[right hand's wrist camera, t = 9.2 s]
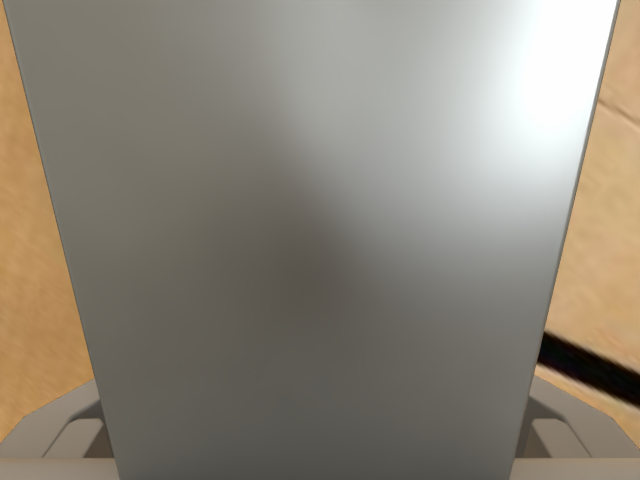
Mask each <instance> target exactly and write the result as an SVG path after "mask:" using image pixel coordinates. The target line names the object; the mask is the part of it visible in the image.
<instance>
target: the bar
mask: <svg viewBox="0 0 640 480" xmlns="http://www.w3.org/2000/svg"><path fill="white" fill-rule="evenodd" d="M2 1H3V5H4V9H5V13H6V17H7V22H8V26H9V30H10V34H11V38H12V42H13V46H14V50H15V54H16V58H17V62H18V66H19V71H20V75H21V79H22V83H23V87H24V91H25V95H26V99H27V103H28V107H29V111H30V115H31V120H32V124H33V128H34V132H35V136H36V140H37V144H38V148H39V152H40V156H41V160H42V164H43V168H44V173H45V177H46V181H47V185H48V189H49V193H50V197H51V201H52V205H53V209H54V213H55V217H56V222H57V226H58V230H59V234H60V238H61V242H62V246H63V250H64V254H65V258H66V262H67V266H68V271H69V275H70V279H71V283H72V287H73V291H74V295H75V299H76V303H77V307H78V311H79V315H80V320H81V324H82V328H83V332H84V336H85V340H86V344H87V348H88V352H89V356H90V360H91V364H92V368H93V373H94V377H95V381H96V385H97V389H98V393H99V397H100V401H101V405H102V409H103V413H104V417H105V422H106V426H107V430H108V434H109V438H110V442H111V446H112V450H113V454H114V458H115V462H116V466H117V471H118V475H119V479H120V480H509V479H510V474H511V470H512V466H513V461H514V457H515V453H516V449H517V444H518V440H519V436H520V431H521V427H522V423H523V418H524V414H525V410H526V406H527V401H528V397H529V393H530V388H531V384H532V380H533V376H534V371H535V367H536V363H537V358H538V354H539V350H540V345H541V341H542V337H543V333H544V328H545V324H546V320H547V315H548V311H549V307H550V302H551V298H552V294H553V290H554V285H555V281H556V277H557V272H558V268H559V264H560V260H561V255H562V251H563V247H564V242H565V238H566V234H567V229H568V225H569V221H570V217H571V212H572V208H573V204H574V199H575V195H576V191H577V187H578V182H579V178H580V174H581V169H582V165H583V161H584V156H585V152H586V148H587V144H588V139H589V135H590V131H591V126H592V122H593V118H594V114H595V109H596V105H597V101H598V96H599V92H600V88H601V83H602V79H603V75H604V71H605V66H606V62H607V58H608V53H609V49H610V45H611V40H612V36H613V32H614V28H615V23H616V19H617V15H618V10H619V6H620V2H621V0H2Z"/></svg>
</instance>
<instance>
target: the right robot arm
mask: <svg viewBox="0 0 640 480" xmlns="http://www.w3.org/2000/svg"><path fill="white" fill-rule="evenodd" d="M0 480H120V479H119V475H118V471H117V466H116V462H115V458H114V454H113V450H112V446H111V442H110V438H109V434H108V430H107V426H106V422H105V417H104V413H103V409H102V405H101V401H100V397H99V393H98V389H97V385H96V381H95V378H94V379H92V380H90V381H89V382H87V383H85V384H83V385H81V386H79V387H78V388H76V389H74V390H72V391H70V392H68V393H67V394H65V395H63V396H61V397H59V398H57V399H56V400H54V401H52V402H50V403H48V404H46V405H45V406H43V407H41V408H39V409H37V410H35V411H34V412H32V413H30V414H28V415H26V416H24V417H23V418H22V419H21V421H20V422H19V423H18V424H17V425H16V426H15V427H14V429H13V430H12V431H11V432H10V433H9V434H8V435H7V436H6V438H5V439H4V440H3V441H2V442H1V443H0ZM509 480H640V450H639V448H638V447H637V446H636V445H635V444H634V443H633V441H632V440H631V439H630V438H629V437H628V436H627V434H626V433H625V432H624V431H623V430H622V429H621V427H620V426H619V425H618V424H617V423H616V422H615V420H614V419H613V418H612V417H610V416H608V415H607V414H605V413H603V412H601V411H599V410H597V409H596V408H594V407H592V406H590V405H588V404H587V403H585V402H583V401H581V400H579V399H578V398H576V397H574V396H572V395H570V394H569V393H567V392H565V391H563V390H561V389H559V388H558V387H556V386H554V385H552V384H550V383H549V382H547V381H545V380H543V379H541V378H540V377H538V376H536V375H534V376H533V380H532V384H531V388H530V393H529V397H528V401H527V406H526V410H525V414H524V418H523V423H522V427H521V431H520V436H519V440H518V444H517V449H516V453H515V457H514V461H513V466H512V470H511V474H510V479H509Z"/></svg>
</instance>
